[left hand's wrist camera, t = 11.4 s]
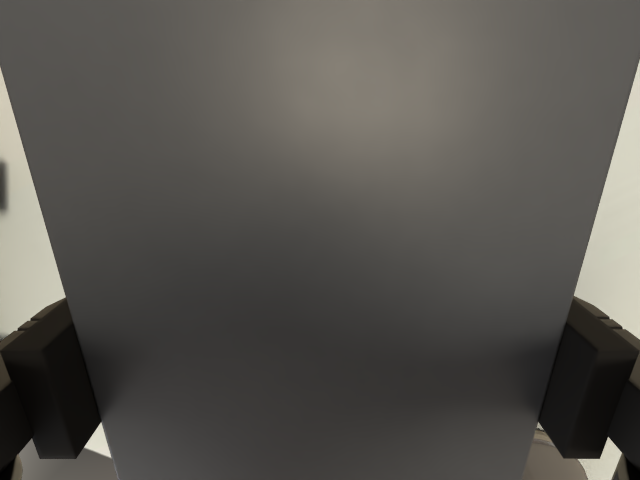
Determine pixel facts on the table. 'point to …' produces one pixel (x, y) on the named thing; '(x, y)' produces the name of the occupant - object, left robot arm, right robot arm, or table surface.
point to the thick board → (319, 220)
